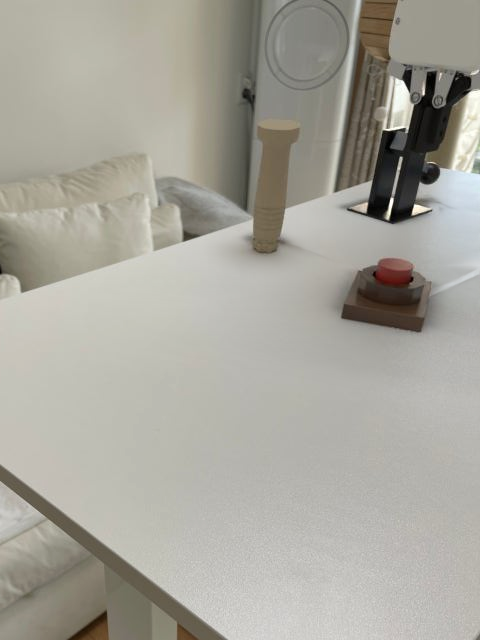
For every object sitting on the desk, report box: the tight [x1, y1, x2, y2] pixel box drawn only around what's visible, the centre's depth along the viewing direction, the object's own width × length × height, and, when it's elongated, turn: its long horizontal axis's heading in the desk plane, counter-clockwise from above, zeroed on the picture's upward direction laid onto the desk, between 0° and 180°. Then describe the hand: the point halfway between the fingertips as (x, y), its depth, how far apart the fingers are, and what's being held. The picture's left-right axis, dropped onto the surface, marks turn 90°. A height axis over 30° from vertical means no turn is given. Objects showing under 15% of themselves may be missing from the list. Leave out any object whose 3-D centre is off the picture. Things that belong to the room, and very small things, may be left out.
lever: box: [390, 131, 441, 186], centre depth 94 cm, size 13×3×3 cm, turn 131°
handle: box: [252, 118, 301, 254], centre depth 80 cm, size 5×6×15 cm
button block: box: [340, 264, 432, 333], centre depth 69 cm, size 10×8×4 cm
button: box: [375, 257, 415, 285], centre depth 68 cm, size 4×4×2 cm
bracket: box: [346, 126, 433, 225], centre depth 93 cm, size 10×8×12 cm
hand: (422, 150), depth 63 cm, fingers closed
